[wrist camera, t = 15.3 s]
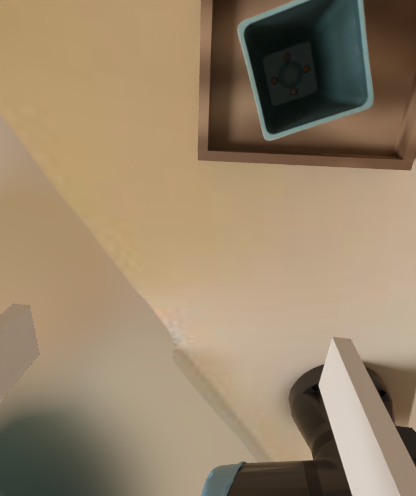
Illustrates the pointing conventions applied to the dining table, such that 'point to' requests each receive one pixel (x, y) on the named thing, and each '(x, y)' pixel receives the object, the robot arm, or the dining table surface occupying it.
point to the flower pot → (307, 64)
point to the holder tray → (312, 139)
